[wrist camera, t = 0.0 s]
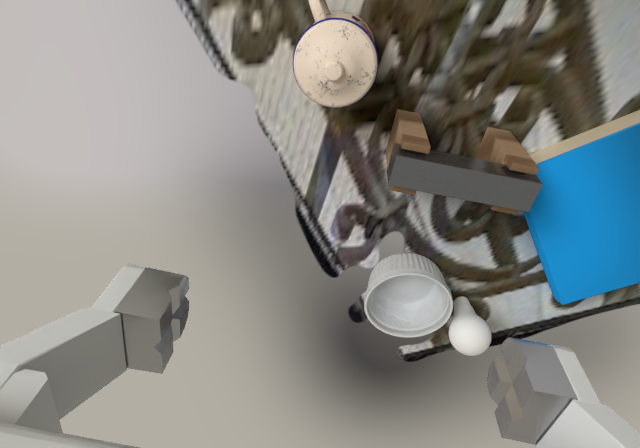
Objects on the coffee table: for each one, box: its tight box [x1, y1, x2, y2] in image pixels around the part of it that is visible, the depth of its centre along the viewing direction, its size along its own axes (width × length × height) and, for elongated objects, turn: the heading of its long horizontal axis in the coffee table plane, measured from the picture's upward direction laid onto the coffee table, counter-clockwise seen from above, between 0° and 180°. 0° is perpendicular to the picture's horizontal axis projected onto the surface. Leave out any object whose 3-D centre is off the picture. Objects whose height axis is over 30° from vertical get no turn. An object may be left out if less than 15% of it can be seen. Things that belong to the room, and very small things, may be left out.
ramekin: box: [364, 253, 453, 337], centre depth 68 cm, size 13×13×7 cm
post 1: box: [386, 109, 431, 195], centre depth 53 cm, size 6×3×11 cm, turn 170°
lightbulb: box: [449, 296, 491, 356], centre depth 67 cm, size 6×6×11 cm
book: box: [523, 110, 640, 305], centre depth 60 cm, size 17×4×25 cm
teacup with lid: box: [293, 0, 379, 107], centre depth 47 cm, size 12×9×12 cm
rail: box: [387, 143, 543, 212], centre depth 49 cm, size 4×16×4 cm, turn 80°
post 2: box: [475, 127, 539, 215], centre depth 53 cm, size 6×3×11 cm, turn 170°
